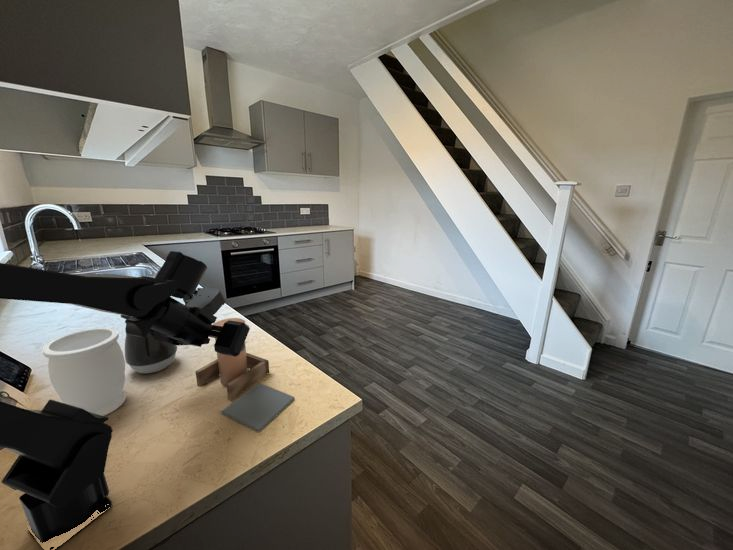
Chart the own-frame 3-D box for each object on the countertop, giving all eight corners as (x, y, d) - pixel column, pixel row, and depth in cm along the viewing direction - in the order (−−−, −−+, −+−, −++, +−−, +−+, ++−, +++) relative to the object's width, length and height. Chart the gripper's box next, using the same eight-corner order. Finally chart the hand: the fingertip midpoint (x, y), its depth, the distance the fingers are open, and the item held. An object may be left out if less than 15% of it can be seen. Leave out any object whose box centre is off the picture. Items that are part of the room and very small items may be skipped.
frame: (231, 400, 61) (229, 386, 60) (197, 384, 65) (195, 371, 64) (269, 373, 70) (268, 360, 69) (237, 361, 75) (236, 349, 74)
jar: (63, 405, 58) (43, 337, 54) (128, 383, 65) (115, 322, 61) (62, 436, 51) (39, 361, 47) (136, 408, 58) (121, 340, 54)
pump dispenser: (146, 356, 76) (135, 302, 72) (187, 355, 77) (179, 302, 73) (116, 380, 66) (102, 319, 62) (164, 379, 67) (153, 319, 63)
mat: (259, 432, 53) (258, 429, 53) (221, 413, 57) (221, 410, 57) (294, 399, 62) (294, 396, 61) (259, 385, 66) (259, 382, 66)
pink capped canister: (232, 391, 63) (226, 334, 60) (211, 382, 66) (204, 326, 62) (256, 375, 69) (251, 321, 66) (236, 367, 72) (231, 315, 68)
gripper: (238, 284, 52) (275, 316, 65) (157, 274, 57) (207, 306, 70) (210, 344, 47) (257, 366, 60) (123, 328, 51) (185, 351, 65)
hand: (225, 344), depth 64 cm, fingers open, 9 cm apart
